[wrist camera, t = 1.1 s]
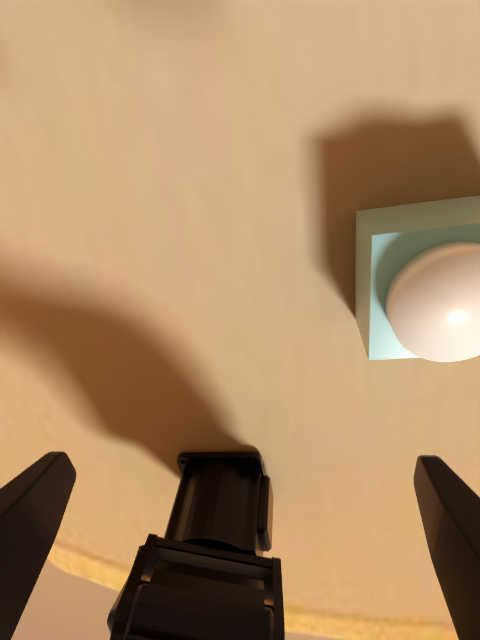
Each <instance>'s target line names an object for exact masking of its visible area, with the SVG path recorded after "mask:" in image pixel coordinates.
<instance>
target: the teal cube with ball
mask: <svg viewBox="0 0 480 640" xmlns="http://www.w3.org/2000/svg"><path fill="white" fill-rule="evenodd" d="M355 319H356V322H357V325H358V328H359V331H360V334H361V337H362V341H363V344H364V347H365V350H366V353H367V356H368V359H369V360H379V359H398V358H416V357H420V358H423V359H426V360H431V361H438V362H453V361H461V360H466V359H470V358H473V357H476V356H479V355H480V195H475V196H468V197H460V198H452V199H444V200H436V201H428V202H420V203H413V204H405V205H397V206H389V207H381V208H373V209H365V210H357V211H356V295H355Z"/></svg>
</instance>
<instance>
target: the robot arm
mask: <svg viewBox="0 0 480 640" xmlns="http://www.w3.org/2000/svg"><path fill="white" fill-rule="evenodd" d="M177 463H178V466H179V469H180V471H181V474H182V477H181V480H180V484H179V487H178V491H177V494H176V498H175V501H174V505H173V508H172V512H171V515H170V519H169V522H168V526H167V529H166V532H165V536H164V538H162V537H157V535H155V534H149V535H148V538H147V540H146V543H145V545H142V546H139V549H138V552H137V555H136V558H135V561H134V564H133V567H132V570H131V572H130V574H129V577H128V579H127V581H126V582H125V584H124V586H123V588H122V590H121V592H120V594H119V596H118V597H117V599H116V602H115V603H114V605H113V607H112V609H111V611H110V613H109V616H108V620H107V625H108V628H109V630H110V633H111V637H110V640H284V639H285V635H284V634H285V631H284V610H283V592H282V575H281V559H280V558H275V557H272V558H266V557H263V551H269V550H270V549H271V546H272V519H273V493H272V487H271V481H270V478H269V477H268V476H267V475H265V473H264V468H263V463H262V457H261V455H260V454H258V453H182V454H179V456H178V459H177ZM75 479H76V470H75V468H74V466H73V465H72V463H71V461H70V459H69V457H68V455H67V454H66V453H65V452H55V451H53V452H49V453H47V454H45V455H44V456H43V457H41V458H40V459H39V460H38V461H36V462H35V463H34V464H32V465H31V466H30V467H28V468H27V469H26V470H24V471H23V472H22V473H20V474H19V475H18V476H17V477H15V478H14V479H13V480H11V481H10V482H9V483H7V484H6V485H5V486H3V487H2V488H1V489H0V640H11V638H12V636H13V633H14V631H15V629H16V626H17V624H18V622H19V619H20V617H21V615H22V613H23V611H24V608H25V606H26V604H27V602H28V599H29V597H30V595H31V593H32V590H33V588H34V586H35V584H36V581H37V579H38V577H39V574H40V572H41V570H42V568H43V565H44V563H45V561H46V559H47V556H48V554H49V552H50V550H51V547H52V545H53V543H54V540H55V538H56V535H57V532H58V530H59V527H60V524H61V521H62V518H63V515H64V512H65V509H66V506H67V503H68V500H69V498H70V495H71V492H72V489H73V486H74V483H75ZM414 488H415V492H416V496H417V501H418V505H419V509H420V513H421V518H422V522H423V526H424V531H425V535H426V539H427V544H428V548H429V552H430V556H431V559H432V562H433V566H434V569H435V572H436V575H437V578H438V580H439V583H440V586H441V589H442V592H443V595H444V598H445V601H446V604H447V607H448V610H449V612H450V615H451V618H452V621H453V624H454V627H455V630H456V633H457V636H458V639H459V640H480V497H479V496H478V495H477V494H476V493H475V492H474V491H473V490H472V489H471V488H470V487H469V486H468V485H467V484H466V483H465V482H464V481H463V480H462V479H461V478H460V477H459V476H458V475H457V474H456V473H455V472H454V471H453V470H452V469H451V468H450V467H449V466H448V465H447V464H446V463H445V462H444V461H443V460H442V459H441V458H439V457H438V456H435V455H420V456H418V458H417V462H416V468H415V473H414Z"/></svg>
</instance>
